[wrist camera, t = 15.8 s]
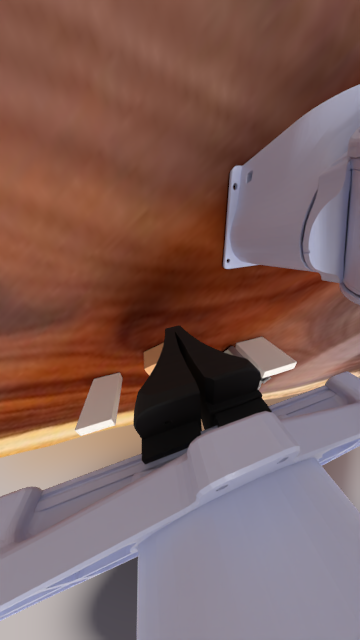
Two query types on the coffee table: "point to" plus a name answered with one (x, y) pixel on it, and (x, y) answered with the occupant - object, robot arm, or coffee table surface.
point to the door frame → (107, 389)
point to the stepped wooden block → (152, 358)
